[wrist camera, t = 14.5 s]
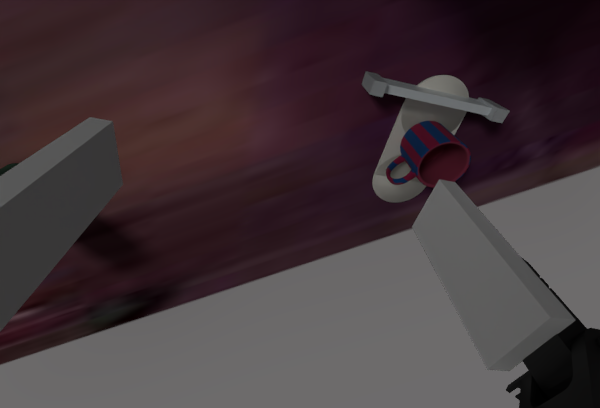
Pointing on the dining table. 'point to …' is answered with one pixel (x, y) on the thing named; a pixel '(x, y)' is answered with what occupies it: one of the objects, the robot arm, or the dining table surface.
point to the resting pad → (406, 119)
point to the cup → (431, 155)
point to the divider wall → (433, 97)
